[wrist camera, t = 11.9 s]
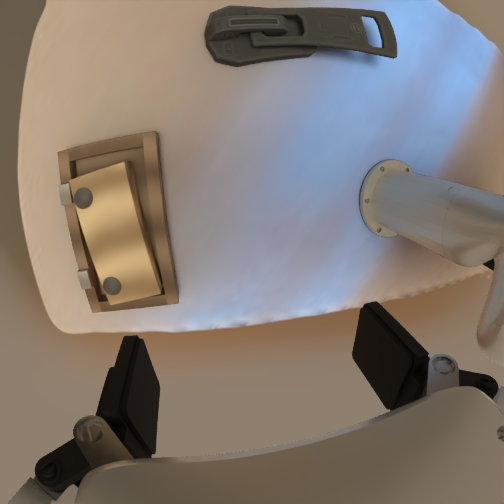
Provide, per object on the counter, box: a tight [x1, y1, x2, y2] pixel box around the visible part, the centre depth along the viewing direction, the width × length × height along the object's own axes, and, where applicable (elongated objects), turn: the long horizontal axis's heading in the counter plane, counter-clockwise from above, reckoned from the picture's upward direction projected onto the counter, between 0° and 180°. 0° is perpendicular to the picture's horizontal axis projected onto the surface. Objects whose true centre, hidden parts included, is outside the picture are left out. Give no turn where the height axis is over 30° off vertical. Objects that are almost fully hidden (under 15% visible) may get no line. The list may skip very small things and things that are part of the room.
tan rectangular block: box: [69, 161, 163, 305], centre depth 31 cm, size 16×7×4 cm, turn 10°
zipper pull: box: [205, 6, 397, 67], centre depth 26 cm, size 9×7×25 cm
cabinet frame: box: [58, 131, 179, 313], centre depth 31 cm, size 22×12×4 cm, turn 3°
